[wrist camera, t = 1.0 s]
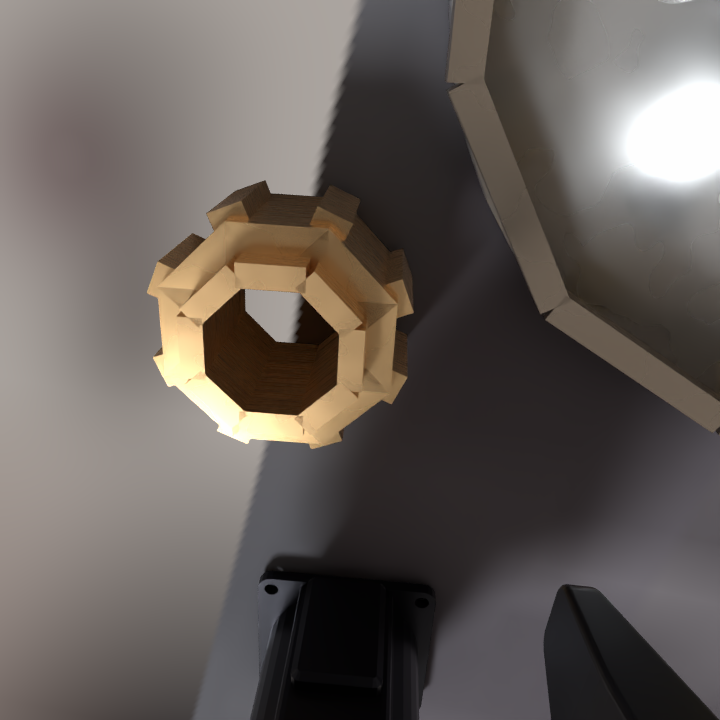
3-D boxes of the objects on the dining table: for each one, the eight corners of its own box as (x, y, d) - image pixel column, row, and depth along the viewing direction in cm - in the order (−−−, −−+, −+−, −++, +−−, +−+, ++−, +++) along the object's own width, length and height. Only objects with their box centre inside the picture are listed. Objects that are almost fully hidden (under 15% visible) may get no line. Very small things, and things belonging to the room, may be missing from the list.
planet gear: (400, 400, 20) (399, 481, 16) (194, 384, 20) (145, 460, 16) (420, 188, 17) (425, 225, 13) (180, 172, 18) (117, 203, 14)
